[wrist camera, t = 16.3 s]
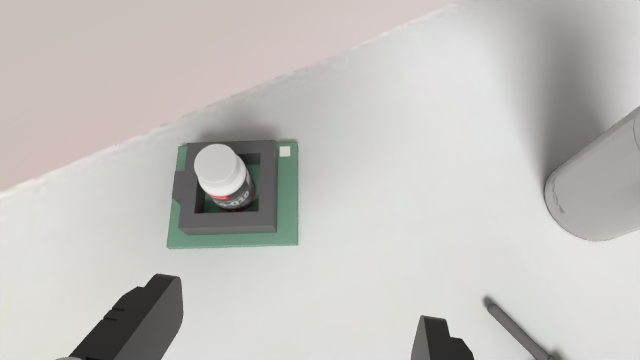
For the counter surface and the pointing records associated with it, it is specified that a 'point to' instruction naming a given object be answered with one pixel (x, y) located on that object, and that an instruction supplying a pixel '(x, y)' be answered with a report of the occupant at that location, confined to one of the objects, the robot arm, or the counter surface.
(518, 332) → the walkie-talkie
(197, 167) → the pill bottle
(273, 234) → the socket board
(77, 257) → the counter surface
